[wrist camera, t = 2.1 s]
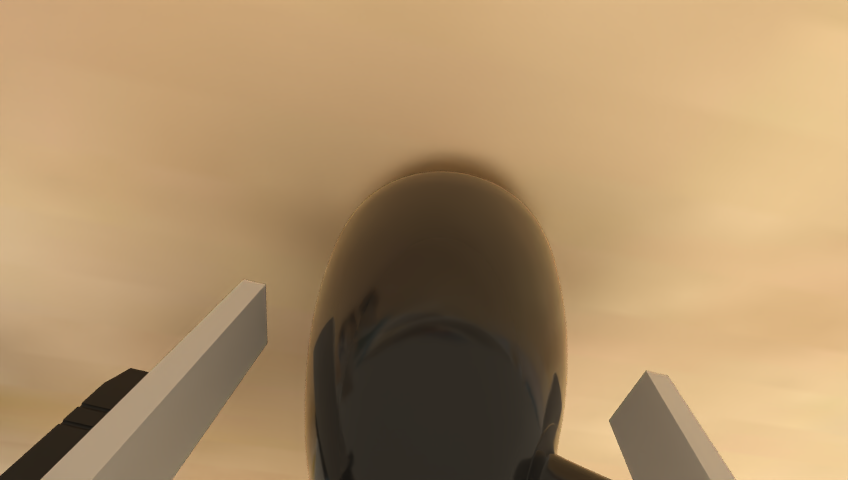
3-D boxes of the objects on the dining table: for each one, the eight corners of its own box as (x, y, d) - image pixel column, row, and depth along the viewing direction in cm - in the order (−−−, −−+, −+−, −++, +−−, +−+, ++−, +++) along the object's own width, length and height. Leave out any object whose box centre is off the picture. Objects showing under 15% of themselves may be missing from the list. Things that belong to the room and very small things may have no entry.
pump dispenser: (539, 303, 21) (677, 716, 8) (378, 313, 23) (264, 673, 9) (538, 137, 17) (865, 441, 3) (338, 164, 18) (5, 447, 5)
